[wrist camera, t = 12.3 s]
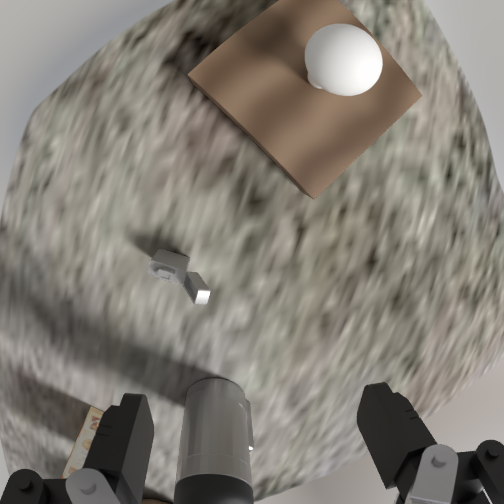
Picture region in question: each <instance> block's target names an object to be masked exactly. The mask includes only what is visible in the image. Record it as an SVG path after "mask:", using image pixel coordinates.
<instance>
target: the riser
mask: <svg viewBox="0 0 504 504" xmlns="http://www.w3.org/2000/svg"><path fill="white" fill-rule="evenodd" d="M331 24H349V25H353V26H356V27H358V28H360V29H362V30H364V31H365V32H366V33H368V34H369V35H370V36H371V37H372V38H373V39H374V40H375V42H376V44H377V45H378V47H379V49H380V52H381V55H382V62H383V66H382V71H381V74H380V76H379V79H378V80H377V82H376V83H375V84H374V85H373V86H372V87H371V88H370V89H369V90H367V91H365V92H363V93H361V94H358V95H354V96H342V95H336V94H333V93H330V92H328V91H326V90H324V89H319V88H316V87H314V86H312V85H311V84H310V82H309V80H308V77H307V76H308V70H307V68H306V64H305V49H306V45H307V43H308V41H309V39H310V38H311V37H312V35H313V34H314V33H315V32H316V31H318V30H319V29H321V28H323V27H325V26H328V25H331ZM187 75H188V76H189V78H190V80H191V81H192V83H193V85H195V86H196V87H197V88H198V89H199V90H200V91H201V92H202V93H203V94H204V95H206V96H207V97H208V98H209V99H210V100H211V101H212V102H213V103H214V104H215V105H216V106H217V107H219V108H220V109H221V110H222V111H223V112H224V113H225V114H226V115H227V116H228V117H229V118H230V119H231V120H232V121H233V122H234V123H235V124H236V125H237V126H238V127H239V128H240V129H242V130H243V131H244V132H245V133H246V134H247V135H248V136H249V137H250V138H251V139H252V140H253V141H254V142H255V143H256V144H257V145H258V146H259V147H260V148H261V149H262V150H263V151H264V152H265V153H266V154H267V155H268V156H269V157H270V158H271V159H272V160H273V161H274V163H275V164H276V165H277V166H278V167H279V168H280V169H281V170H282V171H283V172H284V173H285V174H286V175H287V176H288V177H289V178H290V179H291V180H292V181H293V182H294V183H295V184H296V186H297V187H298V188H299V189H300V190H301V191H302V192H303V193H304V194H306V195H308V196H309V197H311V198H312V199H315V198H316V197H317V196H318V195H319V194H320V193H321V192H322V191H323V190H325V189H326V188H327V187H328V186H329V185H330V184H331V183H332V182H333V181H334V180H335V179H336V178H337V177H338V176H339V175H340V174H341V173H342V172H343V171H344V170H345V169H346V168H348V167H349V166H350V165H351V164H352V163H353V162H354V161H355V160H356V159H357V158H358V157H359V156H360V155H361V154H362V153H363V152H364V151H365V150H366V149H367V148H368V147H369V146H370V145H372V144H373V143H374V142H375V141H376V140H377V139H378V138H379V137H380V136H381V135H382V134H383V133H384V132H385V131H386V130H387V129H388V128H389V127H390V126H391V125H392V124H393V123H394V122H395V121H396V120H398V119H399V118H400V117H401V116H402V115H403V114H404V113H405V112H406V111H407V110H408V109H409V108H410V107H411V106H412V105H413V104H414V103H415V102H416V101H417V100H418V99H419V98H420V97H421V96H422V95H421V93H420V92H419V91H418V89H417V88H416V86H415V85H414V84H413V83H412V81H411V80H410V79H409V77H408V76H407V75H406V73H405V72H404V71H403V70H402V68H401V67H400V66H399V65H398V64H397V62H396V61H395V60H394V59H393V58H392V56H391V55H390V54H389V53H388V52H387V51H386V49H385V48H384V47H383V46H382V45H381V44H380V43H379V41H378V40H377V39H376V38H375V37H374V36H373V35H372V34H371V33H370V32H369V31H368V30H367V29H366V28H365V26H364V25H363V24H362V23H361V22H360V21H359V20H358V19H357V18H356V17H355V16H354V15H353V14H352V13H351V12H350V11H349V10H348V9H346V8H345V7H344V6H343V5H342V4H341V3H340V2H339V1H338V0H278V1H277V2H276V3H274V4H273V5H271V6H270V7H269V8H267V9H266V10H264V11H263V12H262V13H260V14H259V15H258V16H256V17H255V18H254V19H252V20H251V21H250V22H248V23H247V24H246V25H244V26H243V27H242V28H241V29H239V30H238V31H237V32H236V33H234V34H233V35H232V36H231V37H229V38H228V39H227V40H226V41H225V42H223V43H222V44H221V45H220V46H219V47H218V48H216V49H215V50H214V51H213V52H212V53H211V54H209V55H208V56H207V57H206V58H205V59H204V60H203V61H202V62H200V63H199V64H198V65H197V66H196V67H195V68H194V69H193V70H192V71H191V72H190V73H189V74H187Z"/></svg>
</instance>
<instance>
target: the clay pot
mask: <svg viewBox="0 0 504 504" xmlns="http://www.w3.org/2000/svg"><path fill="white" fill-rule="evenodd" d="M141 504H169V503H166V502H162V501H160V500H155V499H142V502H141Z"/></svg>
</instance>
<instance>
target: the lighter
mask: <svg viewBox="0 0 504 504" xmlns="http://www.w3.org/2000/svg"><path fill="white" fill-rule="evenodd" d="M189 262H190V257H187V256H183V255H180V254H177V253H174V252H170V251H167V250H164V249H161V248H160V249H158V250H157V252H156V253H155V255H154V256H153V258H152V259H151V261H150V264H149V268H148V274H149V275H153V276H156V277H157V278H159V279H162V280H165V281H168V282H175V283H179V284H182V283H183V287H184V288H185V290H186V292H187V293H188V295H189V297H190V298H191V300H192V302H193V303H194V304H207V301H208V298H209V295H210V289H209V288H208V286H207V285H206V284H205V282H204V281H203V280H202V278H201V277H200V275H199V274H198V273H196V272H187V269H188V266H189Z"/></svg>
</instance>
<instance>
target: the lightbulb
mask: <svg viewBox="0 0 504 504" xmlns="http://www.w3.org/2000/svg"><path fill="white" fill-rule="evenodd" d="M305 64H306V68H307V70H308V76H307V77H308V80H309V82H310V84H311V85H312V86H314V87H316V88H319V89H324V90H326V91H328V92H330V93H333V94H336V95H342V96H354V95H358V94H361V93H363V92H365V91H367V90H369V89H370V88H371V87H372V86H373V85H374V84H375V83H376V82H377V80H378V79H379V76H380V74H381V71H382V66H383V62H382V55H381V52H380V49H379V47H378V45H377V44H376V42H375V40H374V39H373V38H372V37H371V36H370V35H369V34H368V33H366V32H365V31H364V30H362V29H360V28H358V27H356V26H353V25H349V24H331V25H328V26H325V27H323V28H321V29H319V30H318V31H316V32H315V33H314V34H313V35H312V37H311V38H310V39H309V41H308V43H307V45H306V49H305Z"/></svg>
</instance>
